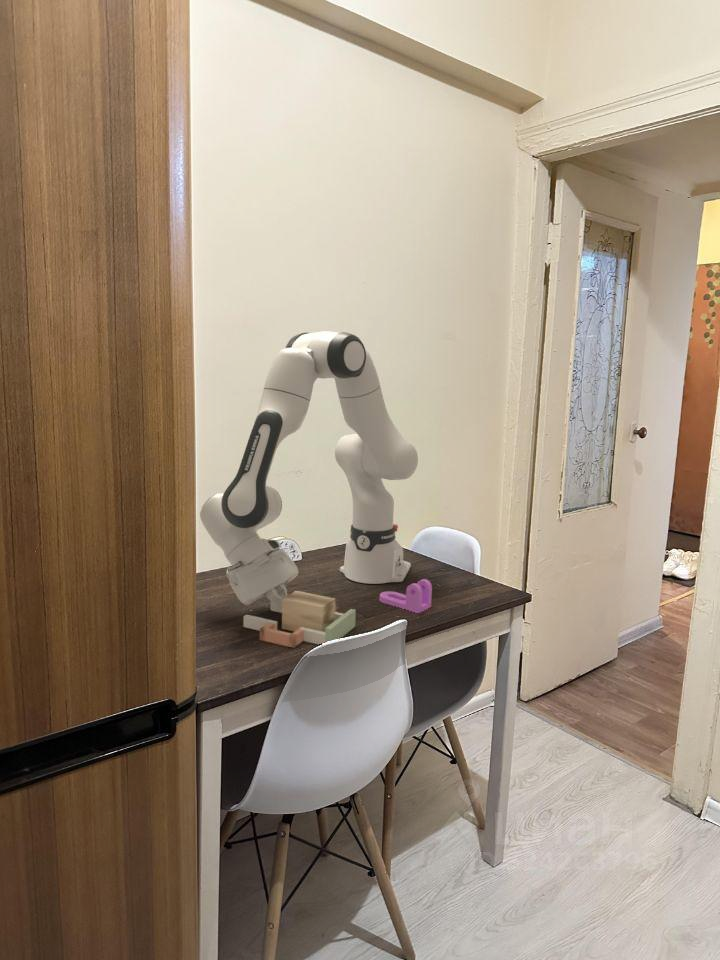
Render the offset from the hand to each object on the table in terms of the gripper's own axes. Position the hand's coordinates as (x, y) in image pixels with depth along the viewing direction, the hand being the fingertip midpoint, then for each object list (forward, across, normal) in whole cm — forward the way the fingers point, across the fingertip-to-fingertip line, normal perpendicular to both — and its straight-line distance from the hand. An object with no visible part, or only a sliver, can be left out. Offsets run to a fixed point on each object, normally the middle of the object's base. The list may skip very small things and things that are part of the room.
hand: (286, 605), depth 153 cm
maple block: (+7, 0, -1) cm, 7 cm away
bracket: (+16, +25, -10) cm, 31 cm away
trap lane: (+5, 0, +1) cm, 5 cm away
